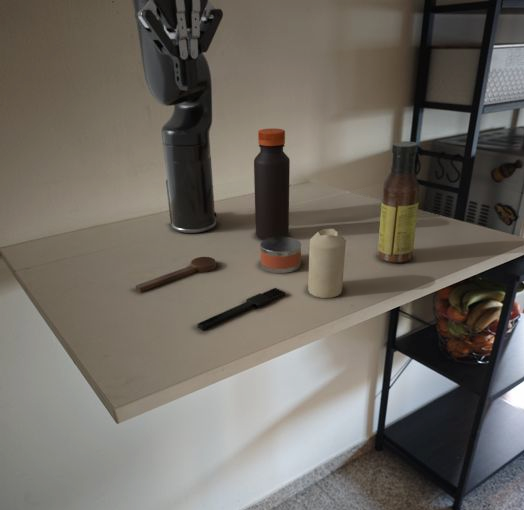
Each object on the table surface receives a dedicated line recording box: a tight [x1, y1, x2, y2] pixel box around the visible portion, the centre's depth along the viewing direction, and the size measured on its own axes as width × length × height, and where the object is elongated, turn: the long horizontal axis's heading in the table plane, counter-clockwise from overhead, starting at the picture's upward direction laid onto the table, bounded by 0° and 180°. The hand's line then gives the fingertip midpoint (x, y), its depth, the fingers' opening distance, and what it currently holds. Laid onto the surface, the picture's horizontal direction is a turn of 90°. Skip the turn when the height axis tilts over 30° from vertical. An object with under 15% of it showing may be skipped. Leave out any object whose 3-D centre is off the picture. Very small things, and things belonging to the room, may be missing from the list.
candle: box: [307, 228, 347, 299], centre depth 78 cm, size 6×6×10 cm
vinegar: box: [253, 127, 291, 241], centre depth 97 cm, size 7×7×20 cm
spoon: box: [135, 256, 217, 293], centre depth 86 cm, size 16×4×1 cm, turn 133°
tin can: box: [259, 236, 302, 274], centre depth 89 cm, size 7×7×4 cm
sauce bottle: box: [377, 140, 420, 264], centre depth 86 cm, size 6×6×20 cm
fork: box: [196, 287, 286, 332], centre depth 76 cm, size 16×3×1 cm, turn 133°
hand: (187, 89), depth 70 cm, fingers closed
